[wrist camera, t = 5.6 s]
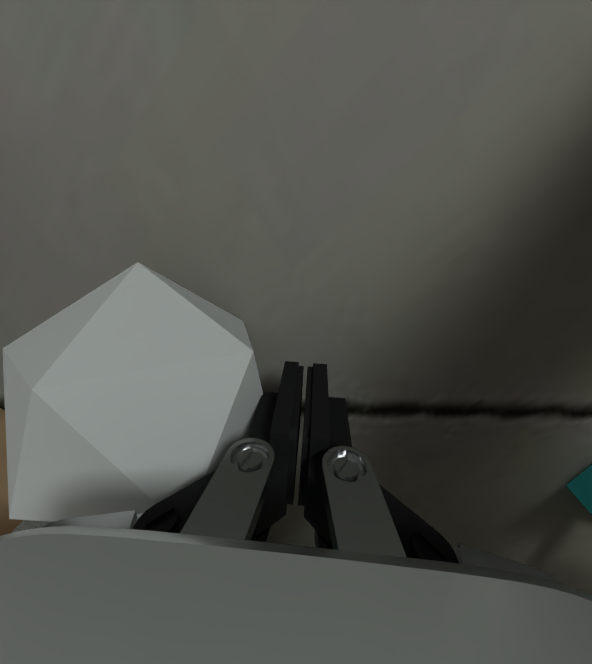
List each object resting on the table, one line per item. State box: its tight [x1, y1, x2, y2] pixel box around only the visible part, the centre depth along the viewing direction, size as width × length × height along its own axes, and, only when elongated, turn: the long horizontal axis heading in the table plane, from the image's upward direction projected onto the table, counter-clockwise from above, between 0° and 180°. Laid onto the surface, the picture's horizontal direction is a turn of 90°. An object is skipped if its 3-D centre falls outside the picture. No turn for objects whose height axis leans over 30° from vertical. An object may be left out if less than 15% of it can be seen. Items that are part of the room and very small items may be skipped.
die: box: [3, 262, 263, 522], centre depth 11 cm, size 8×9×10 cm
